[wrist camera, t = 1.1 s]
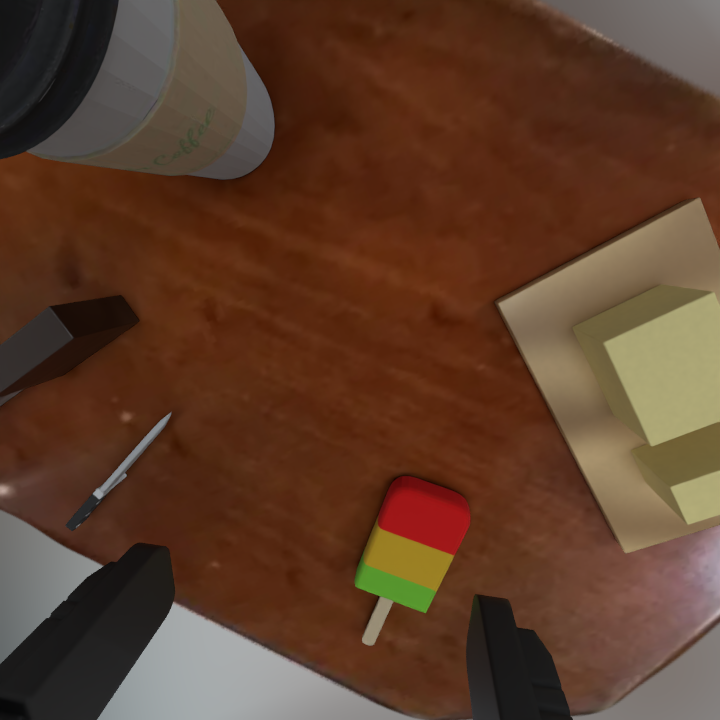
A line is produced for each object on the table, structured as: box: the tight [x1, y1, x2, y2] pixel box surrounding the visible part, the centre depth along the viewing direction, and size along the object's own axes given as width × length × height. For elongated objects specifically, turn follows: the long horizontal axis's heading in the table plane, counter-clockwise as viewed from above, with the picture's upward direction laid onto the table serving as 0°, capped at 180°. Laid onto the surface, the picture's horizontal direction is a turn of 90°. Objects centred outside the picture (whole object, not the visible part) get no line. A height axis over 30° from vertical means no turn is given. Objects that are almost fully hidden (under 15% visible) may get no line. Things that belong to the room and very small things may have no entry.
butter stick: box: [572, 284, 720, 446], centre depth 18 cm, size 6×4×4 cm
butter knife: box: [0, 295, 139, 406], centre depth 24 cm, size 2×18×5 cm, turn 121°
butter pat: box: [631, 421, 720, 525], centre depth 19 cm, size 2×4×4 cm, turn 121°
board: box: [494, 198, 720, 553], centre depth 21 cm, size 18×10×1 cm, turn 31°
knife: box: [65, 413, 172, 531], centre depth 27 cm, size 15×1×2 cm, turn 136°
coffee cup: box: [0, 0, 275, 180], centre depth 13 cm, size 9×9×15 cm
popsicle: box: [355, 476, 470, 645], centre depth 26 cm, size 6×15×2 cm, turn 163°
